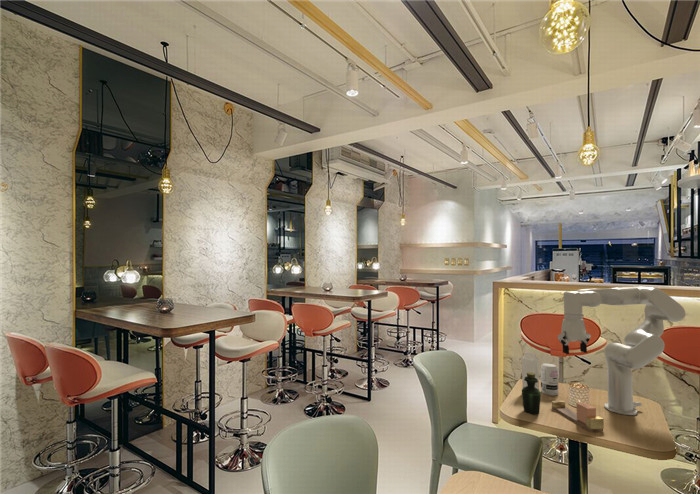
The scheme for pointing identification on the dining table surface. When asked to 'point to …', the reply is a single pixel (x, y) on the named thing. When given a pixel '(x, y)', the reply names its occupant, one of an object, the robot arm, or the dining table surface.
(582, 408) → the block
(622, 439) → the dining table surface
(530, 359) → the clear plastic bottle
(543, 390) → the supplement can
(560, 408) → the track
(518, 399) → the dining table surface
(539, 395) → the potion bottle
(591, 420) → the post
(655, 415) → the dining table surface
